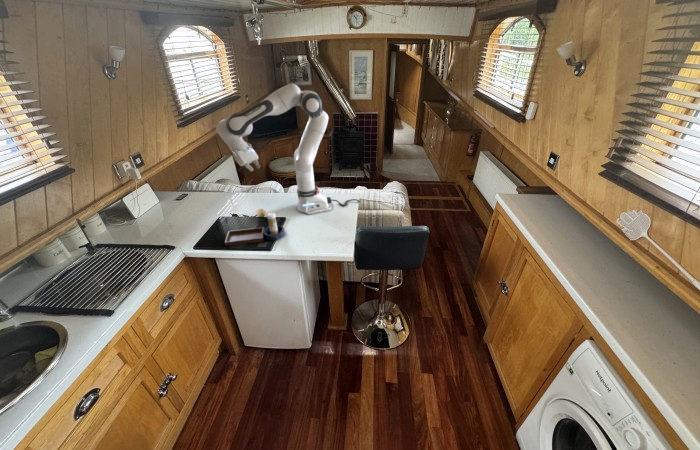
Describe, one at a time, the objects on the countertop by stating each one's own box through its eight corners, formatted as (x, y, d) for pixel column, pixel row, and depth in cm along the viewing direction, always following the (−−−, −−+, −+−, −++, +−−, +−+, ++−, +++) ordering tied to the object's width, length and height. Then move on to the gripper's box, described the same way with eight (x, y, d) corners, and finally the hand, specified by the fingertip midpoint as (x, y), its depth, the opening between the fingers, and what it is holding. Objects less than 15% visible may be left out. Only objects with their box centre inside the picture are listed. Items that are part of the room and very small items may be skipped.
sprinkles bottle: (269, 234, 162) (264, 214, 155) (275, 231, 165) (271, 211, 158) (273, 237, 160) (269, 217, 153) (280, 234, 163) (276, 213, 156)
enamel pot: (284, 227, 169) (283, 223, 167) (284, 240, 158) (283, 235, 156) (265, 229, 167) (264, 225, 166) (264, 242, 156) (263, 237, 154)
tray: (264, 230, 166) (264, 226, 165) (263, 241, 157) (262, 238, 155) (229, 234, 164) (228, 230, 162) (225, 246, 154) (224, 242, 152)
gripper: (235, 146, 146) (252, 169, 150) (251, 143, 166) (266, 163, 169) (226, 153, 148) (243, 175, 152) (243, 149, 167) (258, 169, 171)
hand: (255, 169), depth 160 cm, fingers open, 8 cm apart
